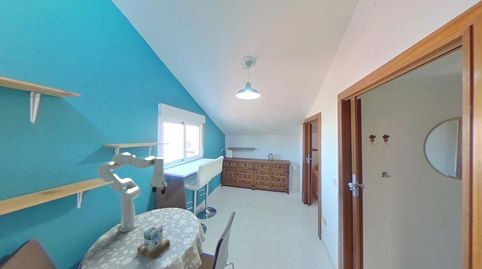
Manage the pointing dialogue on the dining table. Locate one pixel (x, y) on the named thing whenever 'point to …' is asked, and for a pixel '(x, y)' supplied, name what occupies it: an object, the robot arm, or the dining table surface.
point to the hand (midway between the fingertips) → (158, 192)
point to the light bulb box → (153, 236)
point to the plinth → (154, 249)
